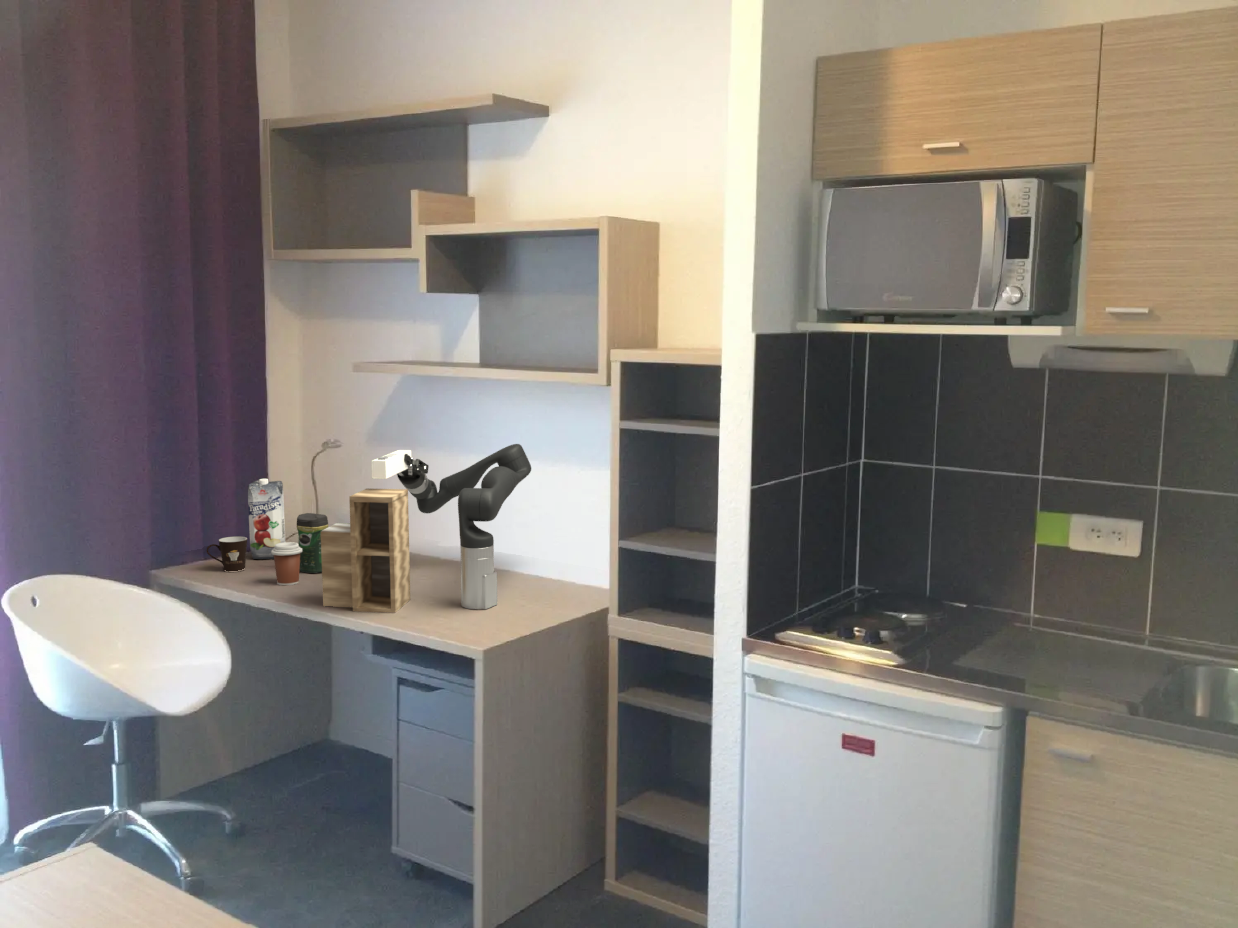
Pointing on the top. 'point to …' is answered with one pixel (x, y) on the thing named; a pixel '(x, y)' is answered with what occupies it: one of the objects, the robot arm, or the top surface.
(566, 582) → the top surface
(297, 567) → the coffee cup
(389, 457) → the white long block
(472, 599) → the robot arm
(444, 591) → the top surface
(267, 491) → the juice carton
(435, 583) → the top surface
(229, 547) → the coffee mug
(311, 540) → the coffee jar
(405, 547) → the step shelf
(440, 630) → the top surface
